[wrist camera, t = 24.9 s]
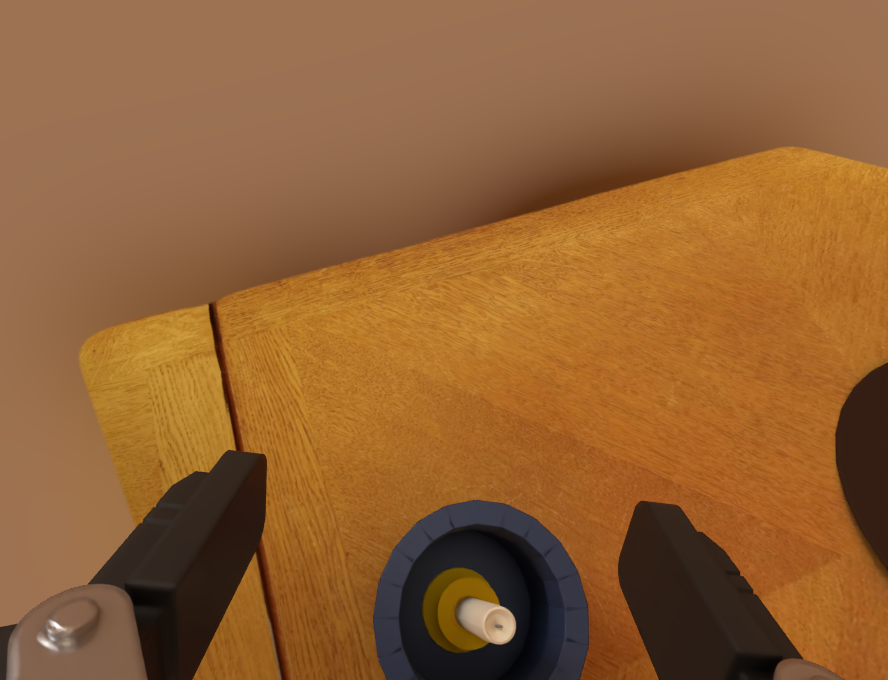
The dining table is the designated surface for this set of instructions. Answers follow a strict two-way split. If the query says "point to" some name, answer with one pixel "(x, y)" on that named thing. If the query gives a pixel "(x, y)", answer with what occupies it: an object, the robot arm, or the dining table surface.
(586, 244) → the dining table surface
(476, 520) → the navy blue cup
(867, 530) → the plate
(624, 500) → the dining table surface
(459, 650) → the candle
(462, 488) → the dining table surface
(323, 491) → the dining table surface
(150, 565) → the robot arm
